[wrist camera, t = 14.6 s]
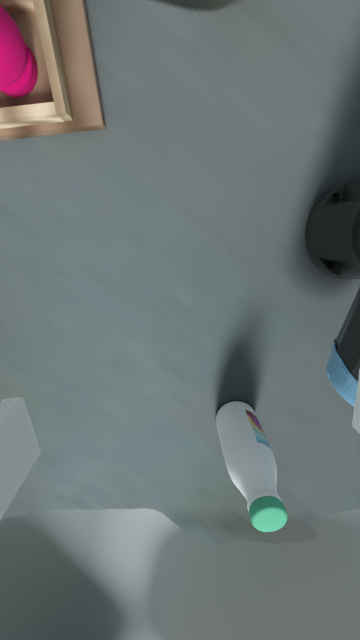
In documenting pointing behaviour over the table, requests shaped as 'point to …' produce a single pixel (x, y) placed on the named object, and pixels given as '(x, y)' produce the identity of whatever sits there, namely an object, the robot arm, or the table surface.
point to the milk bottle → (251, 464)
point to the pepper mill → (15, 60)
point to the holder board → (54, 72)
